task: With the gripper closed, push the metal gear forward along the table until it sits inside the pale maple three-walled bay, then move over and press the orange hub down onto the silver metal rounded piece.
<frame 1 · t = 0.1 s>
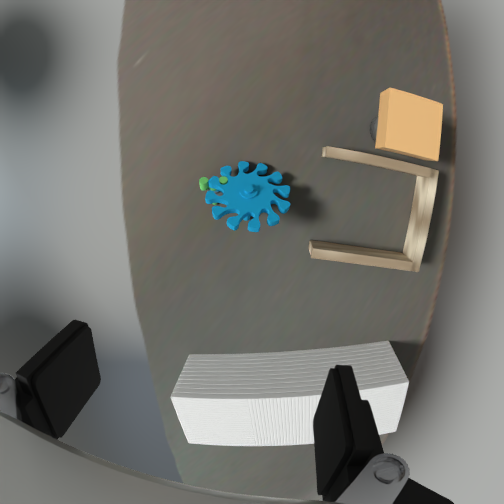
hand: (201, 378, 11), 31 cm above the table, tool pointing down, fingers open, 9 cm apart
chassis bay: (368, 207, 39), on the table
gear: (247, 189, 40), on the table
silver metal rounded piece: (385, 131, 35), on the table
stack of papers: (290, 375, 48), on the table
hub: (409, 125, 28), point 8 cm above the table, slide at 0.0 cm
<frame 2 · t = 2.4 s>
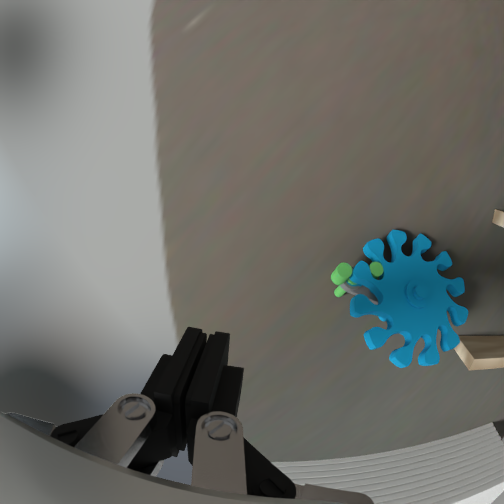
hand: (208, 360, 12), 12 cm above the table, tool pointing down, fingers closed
gear: (390, 273, 23), on the table
stack of papers: (384, 468, 31), on the table
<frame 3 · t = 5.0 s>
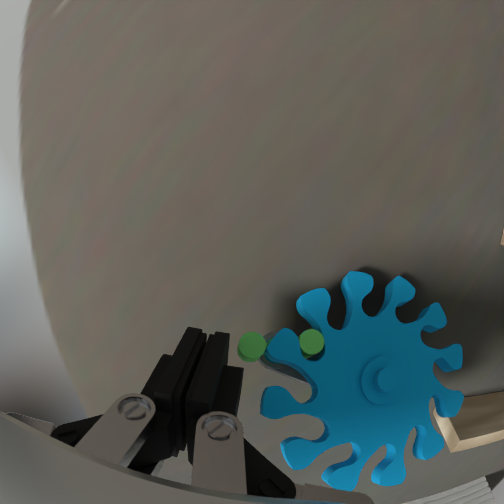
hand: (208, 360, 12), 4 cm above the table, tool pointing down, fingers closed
gear: (349, 332, 15), on the table, touching gripper
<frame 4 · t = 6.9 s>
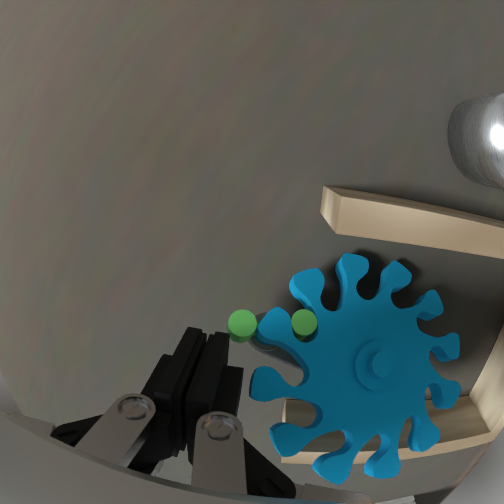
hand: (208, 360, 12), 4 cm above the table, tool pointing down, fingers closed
chassis bay: (425, 329, 15), on the table
gear: (343, 318, 15), on the table, touching gripper
silver metal rounded piece: (480, 141, 12), on the table
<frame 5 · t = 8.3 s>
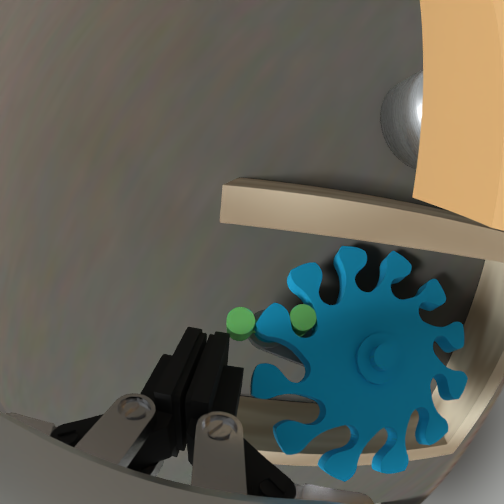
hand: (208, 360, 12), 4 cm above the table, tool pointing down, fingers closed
chassis bay: (364, 329, 15), on the table
gear: (345, 312, 15), on the table, touching gripper
silver metal rounded piece: (422, 124, 12), on the table
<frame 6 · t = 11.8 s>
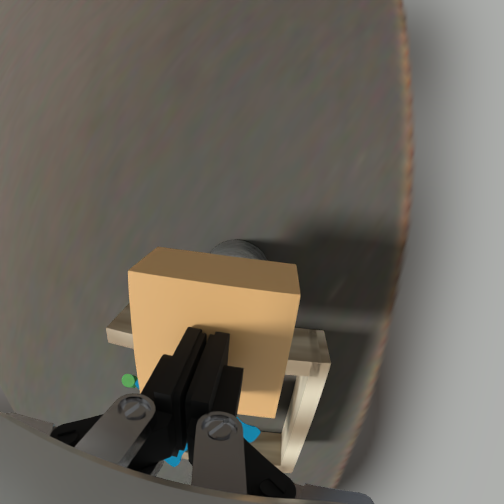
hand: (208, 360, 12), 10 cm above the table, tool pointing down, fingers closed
chassis bay: (215, 385, 24), on the table
gear: (200, 375, 24), on the table
silver metal rounded piece: (236, 271, 21), on the table
hub: (213, 334, 13), point 8 cm above the table, slide at -0.2 cm, touching gripper
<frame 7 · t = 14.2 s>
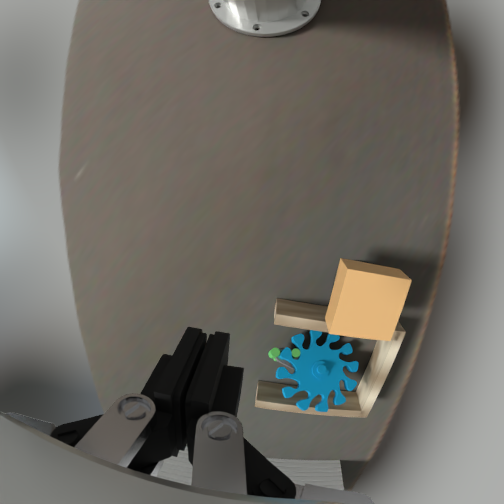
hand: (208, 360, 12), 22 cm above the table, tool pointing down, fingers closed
chassis bay: (322, 355, 36), on the table
gear: (311, 350, 37), on the table
stack of papers: (244, 469, 45), on the table
hub: (366, 300, 28), point 6 cm above the table, slide at -2.2 cm
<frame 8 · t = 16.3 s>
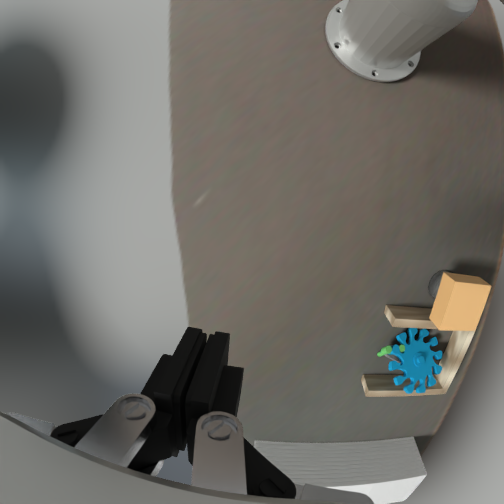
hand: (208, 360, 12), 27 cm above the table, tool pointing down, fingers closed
chassis bay: (414, 346, 41), on the table
gear: (405, 344, 41), on the table
silver metal rounded piece: (441, 284, 38), on the table
stack of papers: (333, 456, 50), on the table
hub: (460, 302, 32), point 6 cm above the table, slide at -2.2 cm
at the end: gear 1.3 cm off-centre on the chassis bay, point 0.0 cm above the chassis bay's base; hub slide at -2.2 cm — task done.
